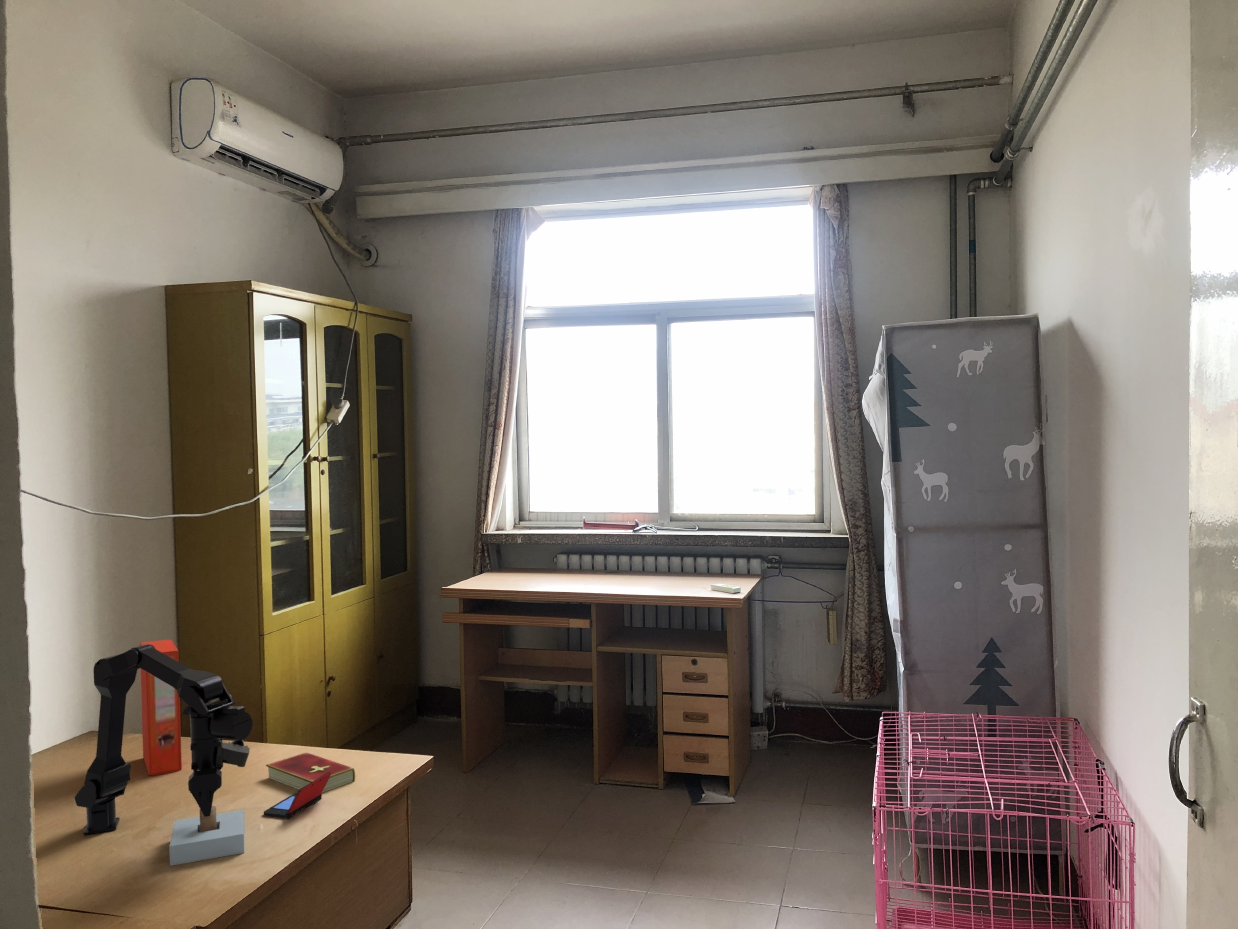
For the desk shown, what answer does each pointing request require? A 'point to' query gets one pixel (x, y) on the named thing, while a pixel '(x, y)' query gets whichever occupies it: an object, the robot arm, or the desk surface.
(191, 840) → the socket block
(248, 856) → the desk surface
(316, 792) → the handheld game console
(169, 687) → the file binder
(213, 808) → the peg
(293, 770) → the hardcover book
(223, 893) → the desk surface
